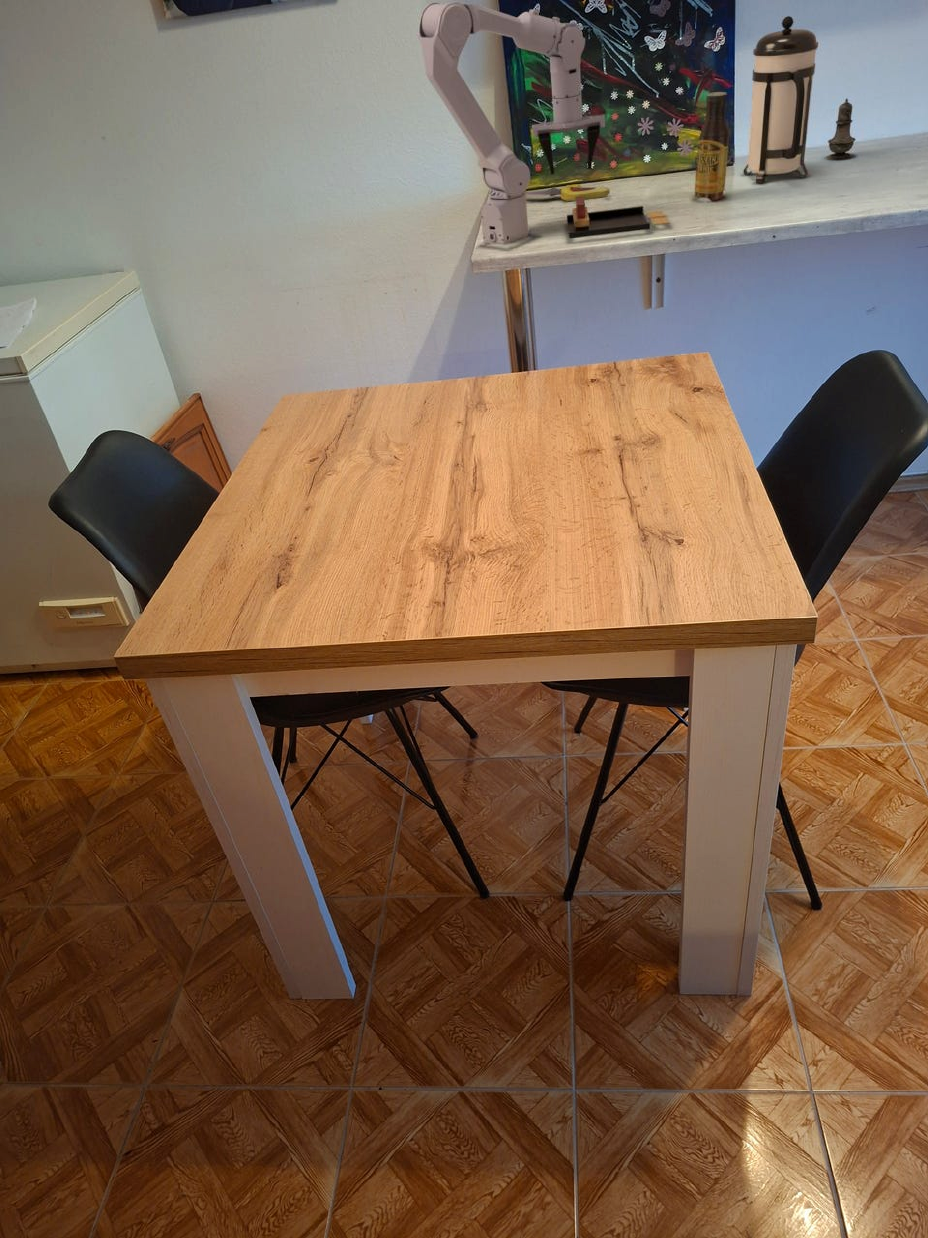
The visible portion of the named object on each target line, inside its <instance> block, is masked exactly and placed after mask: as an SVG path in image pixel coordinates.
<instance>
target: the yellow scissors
mask: <svg viewBox="0 0 928 1238" xmlns="http://www.w3.org/2000/svg"><path fill="white" fill-rule="evenodd" d="M609 194H610V188H609V187H607V186H603V185H601V186H596V187H582V186H581V185H580V184H567V185H566V186H564V187H562V188H556V187H551V188H549V189H545V190H540V191H539V190H538V191H526V198H544V197H545V198H548V197H549V198H550V197H554V196H560V199H562V200H564V201H566V202H576V198H575V197H578V196H583V197H584V201H586V200H593V199H594V200H595V199H600V198H606V197H607V196H609Z"/></svg>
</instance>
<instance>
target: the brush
mask: <svg viewBox="0 0 928 1238" xmlns="http://www.w3.org/2000/svg"><path fill="white" fill-rule="evenodd" d="M575 198H576V201H575V207H573V208H572V209H571V210H572V211H571V212H572V214H573V220H574V226H575V231H581V230H589V226H590V223H589V216H588V213H589V211H588V207H587V206H586V203H585V200H584V197H583V196H578V197H575Z"/></svg>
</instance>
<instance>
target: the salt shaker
mask: <svg viewBox="0 0 928 1238" xmlns="http://www.w3.org/2000/svg"><path fill="white" fill-rule="evenodd" d="M844 101H845V102H843V103H841V104H840V105H839V107H838V114H837V120H836V121H835V124H836V128H835V134H834V136H833V137H832V138H830V139H829V140H828V141H827V143H828V147H829V150H830V152H832V153H831V154H830V155H828V156H827V160H831V161H843V160H848V159H851V158H852V157H853V155H852V154H851V153H849V151H850V150H851V149H852V148H853V146H854V144H855V143H854V142H855V141H856V138H855V137H852V136H851V124H852V123H853V119H852V113H853V104H852V103H850V102H848V101H849V99H848V97H846V99H845V100H844Z"/></svg>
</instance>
